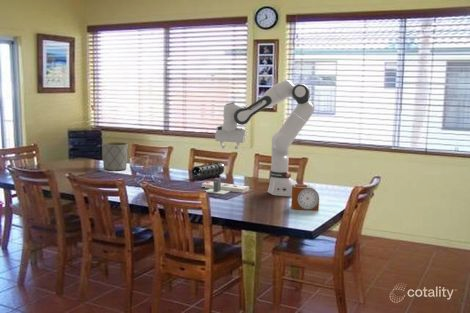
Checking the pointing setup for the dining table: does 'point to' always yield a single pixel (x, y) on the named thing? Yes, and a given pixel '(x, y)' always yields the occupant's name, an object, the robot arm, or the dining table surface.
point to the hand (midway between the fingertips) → (229, 148)
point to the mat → (217, 192)
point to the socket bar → (227, 187)
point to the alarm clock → (304, 197)
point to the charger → (217, 185)
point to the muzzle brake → (207, 170)
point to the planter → (115, 155)
